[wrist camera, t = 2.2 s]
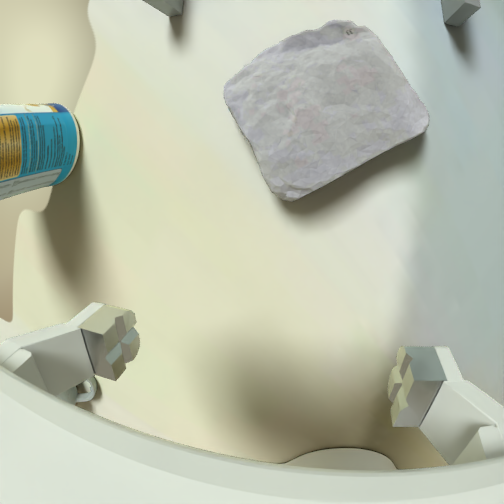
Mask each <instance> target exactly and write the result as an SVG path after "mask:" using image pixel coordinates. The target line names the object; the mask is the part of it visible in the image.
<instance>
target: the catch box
mask: <svg viewBox="0 0 504 504" xmlns="http://www.w3.org/2000/svg"><path fill="white" fill-rule="evenodd" d="M143 1H145V2H146V3H148V4H150V5H151V6H153V7H154V8H156V9H158V10H159V11H161V12H162V13H164V14H166V15H167V16H169V17H170V16H175V15H180V14H182V12H183V0H143ZM441 4H442V11H443V18H444V23H446V24H450V25H453V26H457V27H459V26H460V25H461V24H462V23H463V22H464V21H466V20H467V19H468V18H469V17H470V16H471V15H473V14H474V13H475V12H476V11H477V10H479V9H480V8H481V6H480V1H479V0H441Z"/></svg>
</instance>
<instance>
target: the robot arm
mask: <svg viewBox="0 0 504 504" xmlns="http://www.w3.org/2000/svg"><path fill="white" fill-rule="evenodd" d="M135 324H136V318H135V313H134V312H132V311H131V310H128V309H123V308H119V307H115V306H111V305H106V304H103V303H99V302H92V303H91V304H90V305H88V306H87V307H86V308H85V309H83V310H82V311H81V312H80V313H78V314H77V315H76V316H75V317H74V318H72V319H71V320H70V321H69V322H67V323H66V324H64V323H61V324H57V325H54V326H50V327H47V328H44V329H40V330H37V331H33V332H30V333H26V334H23V335H19V336H16V337H12V338H9V339H6V340H5V341H3V342H2V343H1V344H0V504H504V407H503V406H502V405H501V404H499V403H498V402H497V401H495V400H494V399H493V398H491V397H490V396H488V395H487V394H486V393H484V392H483V391H482V390H480V389H479V388H478V387H476V386H475V385H474V384H472V383H471V382H469V381H468V380H466V381H464V380H463V377H462V375H461V373H460V371H459V368H458V366H457V364H456V362H455V360H454V357H453V355H452V353H451V351H450V349H449V348H448V347H447V346H432V347H423V346H401V347H400V348H399V350H398V353H397V356H396V359H397V365H396V366H395V367H394V368H392V370H391V373H390V376H389V381H388V398H389V400H390V401H391V402H392V403H393V405H392V407H391V409H390V411H391V418H392V425H393V427H419V429H420V430H421V431H422V432H423V433H424V435H425V436H426V437H427V438H428V440H429V441H430V442H431V443H432V444H433V446H434V447H435V448H436V449H437V451H438V452H439V453H440V454H441V456H442V457H443V458H444V459H445V460H446V462H447V463H448V464H449V466H441V467H431V468H419V469H403V470H397V469H396V467H395V466H394V464H393V462H392V461H391V460H390V459H389V458H387V457H386V456H384V455H382V454H380V453H377V452H373V451H369V450H364V449H355V448H336V449H326V450H320V451H315V452H311V453H307V454H304V455H302V456H299V457H297V458H295V459H293V460H292V461H289V462H287V463H283V464H275V463H268V462H262V461H255V460H250V459H244V458H239V457H234V456H229V455H224V454H219V453H215V452H211V451H206V450H202V449H198V448H194V447H190V446H187V445H183V444H179V443H176V442H172V441H169V440H166V439H162V438H159V437H156V436H153V435H150V434H147V433H144V432H141V431H138V430H135V429H132V428H129V427H127V426H124V425H121V424H118V423H116V422H113V421H111V420H108V419H106V418H103V417H101V416H98V415H96V414H93V413H91V412H89V411H86V410H84V409H82V408H80V407H77V406H75V405H73V404H71V403H69V402H67V401H65V400H62V399H60V398H58V397H56V395H58V394H60V393H62V392H64V391H66V390H68V389H70V388H72V387H74V386H76V385H78V384H80V383H82V382H84V381H86V380H88V379H90V378H91V377H93V376H95V375H98V376H101V377H104V378H107V379H111V380H114V381H116V380H117V379H118V378H119V377H120V376H121V374H122V373H123V372H124V371H125V369H126V364H125V363H128V362H130V361H132V360H133V359H134V358H135V357H136V355H137V353H138V350H139V347H140V338H139V334H138V332H137V331H136V330H135V328H134V326H135Z"/></svg>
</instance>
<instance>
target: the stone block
mask: <svg viewBox="0 0 504 504" xmlns="http://www.w3.org/2000/svg"><path fill="white" fill-rule="evenodd" d="M224 99H225V103H226V105H227V106H228V108H229V110H230V112H231V114H232V116H233V117H234V119H235V121H236V123H237V124H238V125H239V128H240V129H241V131H242V133H243V135H244V136H246V138H247V139H248V141H249V142H250V144H251V146H252V148H253V151H254V154H255V157H256V159H257V161H258V163H259V166H260V170H261V173H262V176H263V177H264V179H265V181H266V183H267V184H268V186H269V188H270V190H271V191H272V193H274V194H275V195H276V196H278V197H279V198H281V199H282V200H289V201H290V202H291V201H294V200H298V199H299V198H301V197H303V196H305V195H307V194H309V193H311V192H313V191H315V190H317V189H319V188H321V187H323V186H324V185H326V184H328V183H330V182H332V181H333V180H335V179H337V178H339V177H341V176H343V175H344V174H346V173H348V172H350V171H351V170H353V169H355V168H357V167H358V166H360V165H362V164H363V163H365V162H367V161H368V160H370V159H372V158H374V157H376V156H378V155H380V154H382V153H383V152H385V151H387V150H389V149H391V148H393V147H395V146H397V145H399V144H402V143H404V142H406V141H409V140H411V139H413V138H414V137H416V136H418V135H420V134H422V133H423V132H424V131H426V130H427V128H428V126H429V113H428V110H427V108H426V106H425V105H424V103H423V102H422V101H421V100H420V99H419V97H418V95H417V93H416V92H415V91H414V89H413V88H412V87H411V86H410V84H409V82H408V81H407V79H406V78H405V76H404V74H403V73H402V71H401V70H400V68H399V67H398V65H397V64H396V62H395V61H394V59H393V57H392V55H391V54H390V53H389V52H388V50H387V49H386V48H385V46H384V45H383V44H382V42H381V41H380V39H379V38H378V37H377V35H375V34H374V33H373V32H372V31H371V30H370V29H368V28H367V27H366V26H357V25H355V24H354V23H353V22H352V21H349V20H345V21H343V20H332V21H329V22H327V23H326V24H325V25H323V26H322V27H321V28H318V29H315V30H306V31H303V32H300V33H298V34H295V35H292V36H290V37H288V38H286V39H284V40H282V41H280V42H279V43H278V44H276V45H273V46H271V47H269V48H267V49H265V50H264V51H263V52H261V53H260V54H258V55H257V56H256V57H255V58H254V59H253V60H252V62H251V63H250V64H247V65H245V66H244V67H243V68H242V69H241V70H240V71H239V72H238V73H237V74H235V75H234V76H233V77H232V78H231V79H230V80H229V81H228V82H227V83H226V84H225V86H224Z"/></svg>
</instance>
